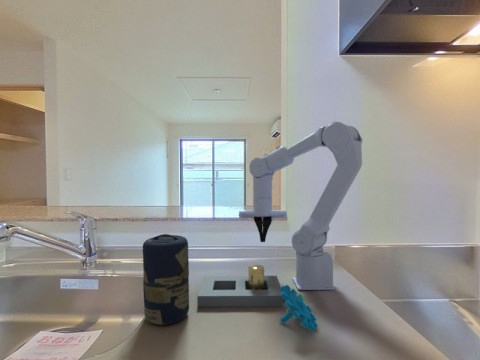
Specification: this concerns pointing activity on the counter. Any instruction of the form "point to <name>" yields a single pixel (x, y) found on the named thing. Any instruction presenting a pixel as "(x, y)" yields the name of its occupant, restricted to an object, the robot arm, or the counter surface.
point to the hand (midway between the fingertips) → (262, 241)
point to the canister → (165, 278)
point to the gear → (297, 308)
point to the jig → (238, 292)
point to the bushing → (256, 277)
